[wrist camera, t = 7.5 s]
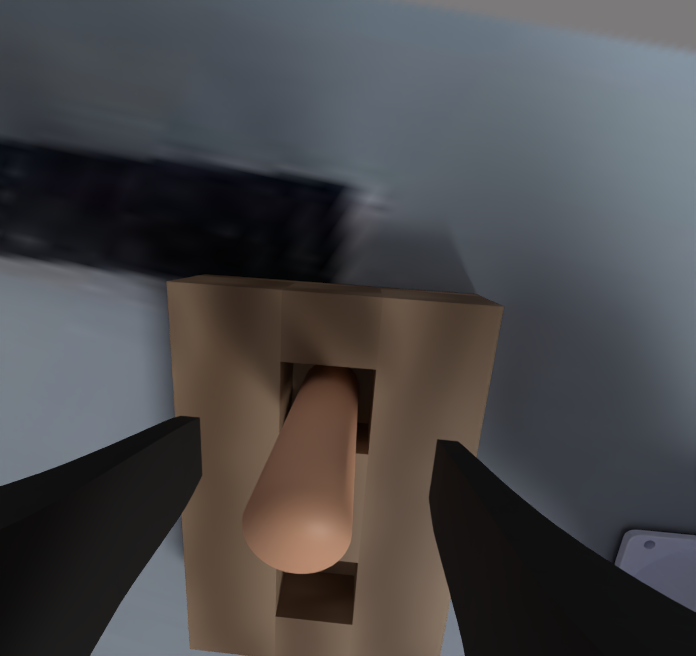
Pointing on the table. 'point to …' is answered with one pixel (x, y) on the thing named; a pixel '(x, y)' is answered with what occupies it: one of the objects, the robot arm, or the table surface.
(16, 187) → the table surface
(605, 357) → the table surface
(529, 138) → the table surface
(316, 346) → the bore block
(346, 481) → the pin
